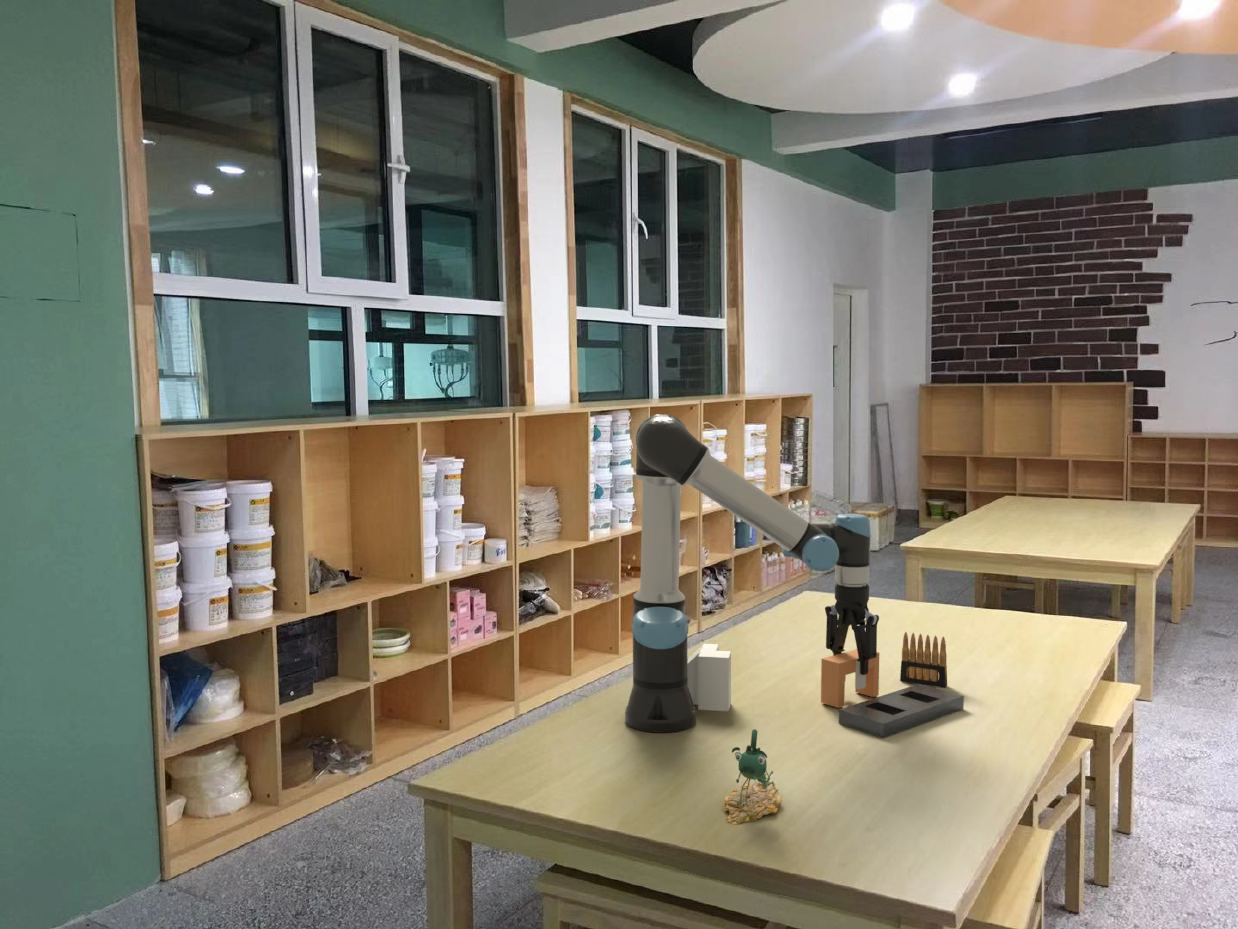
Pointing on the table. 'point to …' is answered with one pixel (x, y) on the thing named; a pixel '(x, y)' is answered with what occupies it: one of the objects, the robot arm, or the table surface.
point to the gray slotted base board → (900, 710)
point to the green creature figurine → (752, 787)
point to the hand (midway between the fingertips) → (850, 684)
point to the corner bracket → (710, 678)
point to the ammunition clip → (924, 662)
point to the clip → (835, 677)
